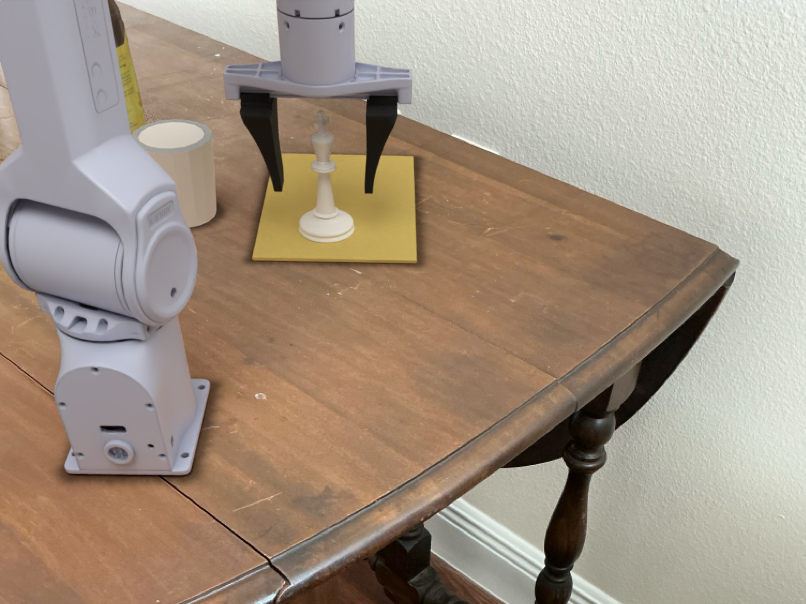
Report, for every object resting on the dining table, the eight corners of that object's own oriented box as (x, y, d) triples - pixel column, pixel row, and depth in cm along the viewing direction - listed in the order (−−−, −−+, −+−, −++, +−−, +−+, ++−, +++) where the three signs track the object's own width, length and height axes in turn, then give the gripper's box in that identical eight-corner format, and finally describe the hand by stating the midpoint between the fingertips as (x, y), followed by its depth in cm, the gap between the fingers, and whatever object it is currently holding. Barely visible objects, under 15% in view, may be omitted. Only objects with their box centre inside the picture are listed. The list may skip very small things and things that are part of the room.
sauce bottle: (166, 155, 84) (120, -87, 69) (128, 181, 80) (72, -70, 66) (112, 142, 86) (57, -97, 71) (73, 168, 82) (6, -80, 67)
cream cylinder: (207, 235, 74) (194, 156, 69) (134, 226, 75) (116, 146, 70) (233, 199, 79) (223, 122, 73) (164, 191, 79) (149, 113, 74)
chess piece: (288, 234, 74) (278, 115, 67) (317, 210, 77) (311, 94, 70) (336, 248, 73) (331, 129, 65) (364, 223, 76) (363, 107, 68)
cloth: (416, 263, 72) (416, 260, 72) (252, 260, 72) (252, 257, 71) (413, 158, 85) (413, 155, 85) (274, 155, 85) (274, 152, 85)
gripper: (413, -8, 65) (408, 167, 75) (223, -13, 64) (244, 164, 75) (414, 23, 60) (409, 206, 70) (210, 17, 60) (234, 202, 70)
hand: (324, 187), depth 72 cm, fingers open, 7 cm apart
